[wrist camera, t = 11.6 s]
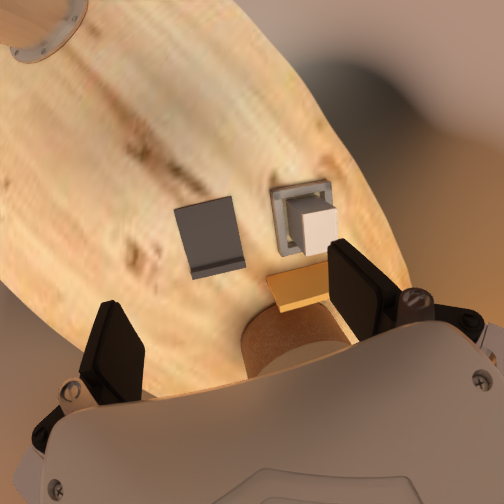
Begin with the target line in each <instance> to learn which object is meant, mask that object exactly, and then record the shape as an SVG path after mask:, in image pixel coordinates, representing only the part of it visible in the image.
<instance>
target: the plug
mask: <svg viewBox="0 0 504 504" xmlns="http://www.w3.org/2000/svg"><path fill="white" fill-rule="evenodd" d="M286 205H287V214H288V223H289V233H290V237H291V239H292V240H293V241H294V242H295V244H296V245H297V246H298V247H299V248H300V250H301V251H302V252H303V253H304V255H305V256H306V257H307V256H311V255H315V254H320V253H324V252H327V247H328V246H329V245H330V243H331V242H332V241H335V240H338V228H337V208H336V207H334V206H332V205H331V204H329V203H328V202H326V201H324V200H323V199H321V198H319V197H318V196H316V195H313V196H307V197H301V198H295V199H290V200H286Z"/></svg>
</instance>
